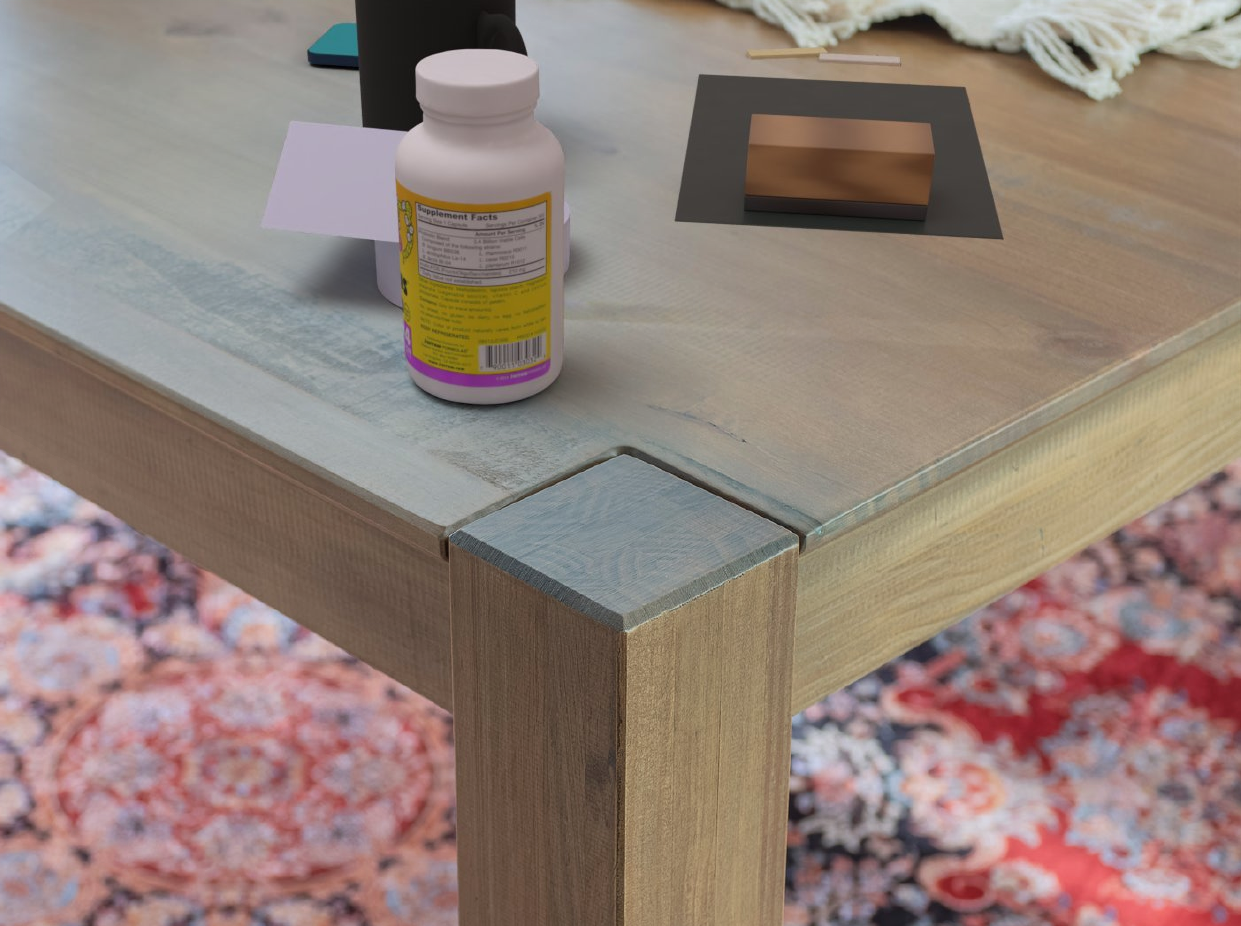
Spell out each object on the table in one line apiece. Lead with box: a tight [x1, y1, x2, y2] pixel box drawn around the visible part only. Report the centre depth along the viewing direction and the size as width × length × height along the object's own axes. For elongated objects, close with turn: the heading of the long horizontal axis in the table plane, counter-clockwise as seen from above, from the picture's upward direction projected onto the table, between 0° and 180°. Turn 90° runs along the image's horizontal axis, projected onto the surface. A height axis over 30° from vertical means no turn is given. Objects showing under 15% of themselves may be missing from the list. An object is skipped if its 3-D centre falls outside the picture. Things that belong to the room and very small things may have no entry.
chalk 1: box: [746, 46, 829, 61], centre depth 106 cm, size 5×1×1 cm
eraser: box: [744, 114, 935, 221], centre depth 84 cm, size 9×5×3 cm, turn 83°
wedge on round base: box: [259, 120, 571, 309], centre depth 77 cm, size 9×7×13 cm
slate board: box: [674, 73, 1004, 240], centre depth 92 cm, size 16×24×1 cm, turn 174°
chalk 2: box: [818, 53, 901, 67], centre depth 105 cm, size 5×1×1 cm, turn 83°
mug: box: [354, 0, 529, 132], centre depth 88 cm, size 8×12×10 cm
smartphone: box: [306, 22, 359, 68], centre depth 107 cm, size 7×1×15 cm
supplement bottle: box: [395, 49, 565, 405], centre depth 67 cm, size 7×7×13 cm
